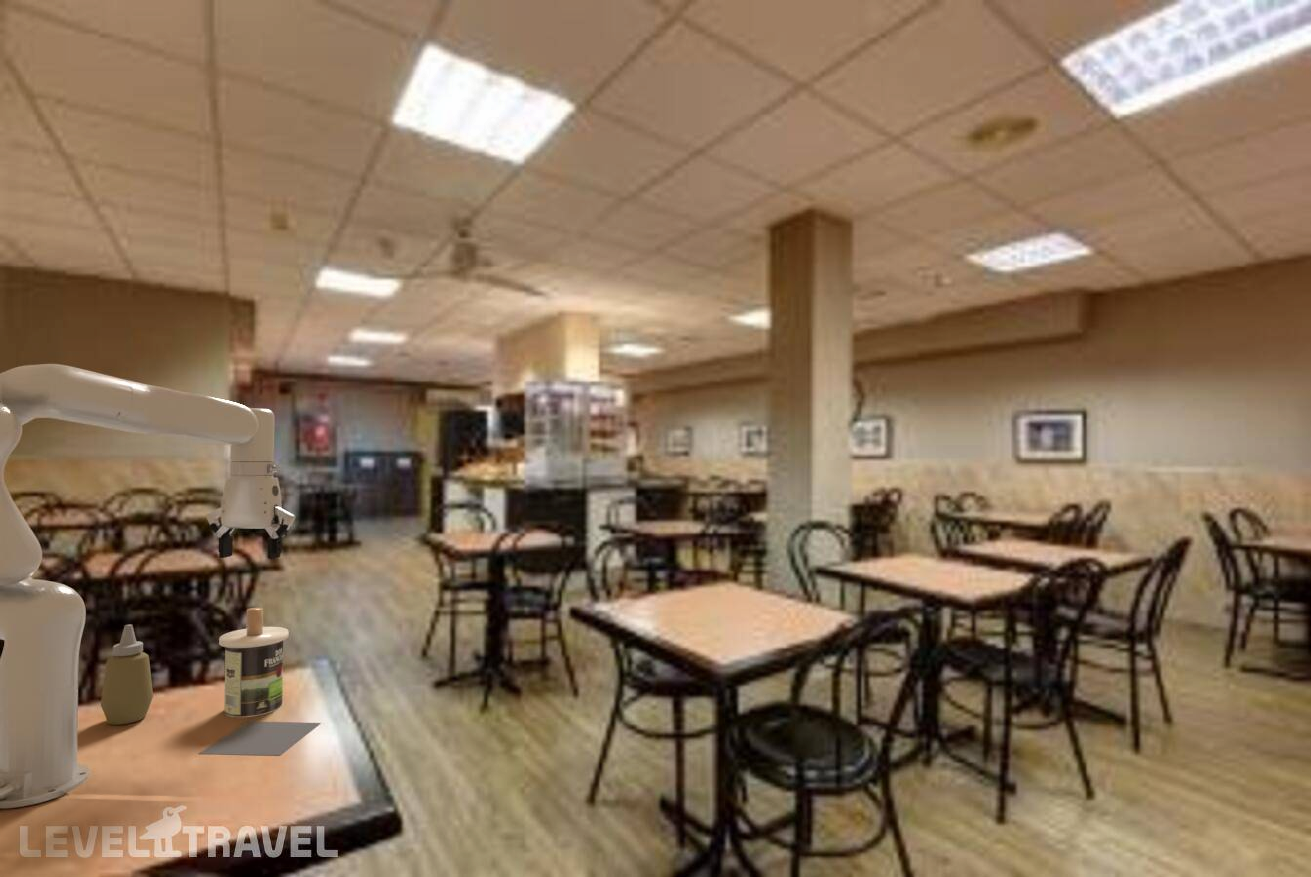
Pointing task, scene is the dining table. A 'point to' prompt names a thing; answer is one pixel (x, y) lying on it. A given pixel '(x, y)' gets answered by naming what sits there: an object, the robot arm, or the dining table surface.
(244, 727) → the mat
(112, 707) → the squeeze bottle
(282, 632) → the lid
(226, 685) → the coffee can
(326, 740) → the dining table surface
